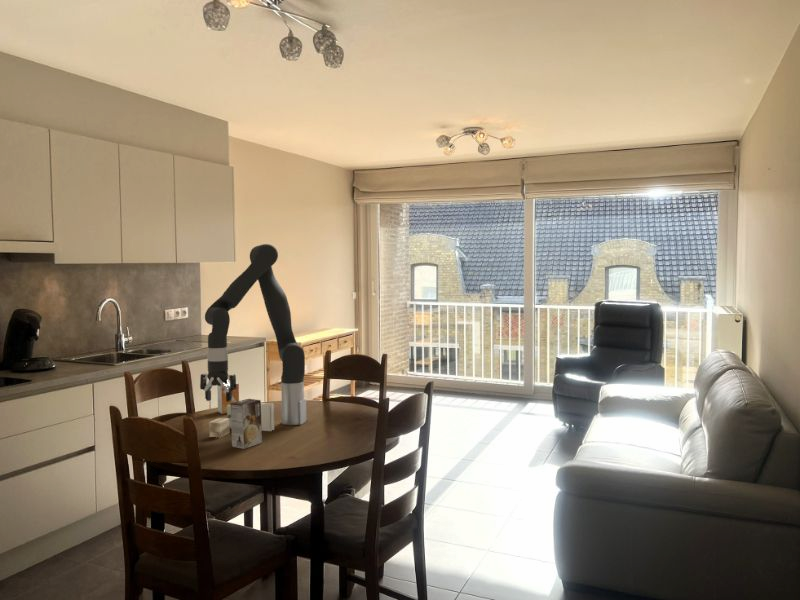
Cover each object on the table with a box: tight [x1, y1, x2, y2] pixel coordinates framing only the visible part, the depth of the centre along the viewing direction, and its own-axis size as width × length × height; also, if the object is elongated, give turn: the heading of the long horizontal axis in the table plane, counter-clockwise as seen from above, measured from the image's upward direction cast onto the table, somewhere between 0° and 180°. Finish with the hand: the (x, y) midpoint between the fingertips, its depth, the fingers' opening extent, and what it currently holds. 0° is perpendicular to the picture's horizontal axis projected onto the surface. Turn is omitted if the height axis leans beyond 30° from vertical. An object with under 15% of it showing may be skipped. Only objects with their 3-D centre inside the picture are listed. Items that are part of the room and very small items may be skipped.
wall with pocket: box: [261, 402, 275, 432], centre depth 245 cm, size 9×3×11 cm, turn 76°
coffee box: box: [231, 398, 263, 450], centre depth 224 cm, size 9×6×16 cm
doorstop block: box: [208, 417, 231, 439], centre depth 238 cm, size 4×7×6 cm, turn 166°
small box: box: [216, 381, 240, 415], centre depth 279 cm, size 8×6×13 cm
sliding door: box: [226, 405, 232, 429], centre depth 247 cm, size 11×2×9 cm, turn 76°
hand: (218, 400), depth 237 cm, fingers open, 8 cm apart
